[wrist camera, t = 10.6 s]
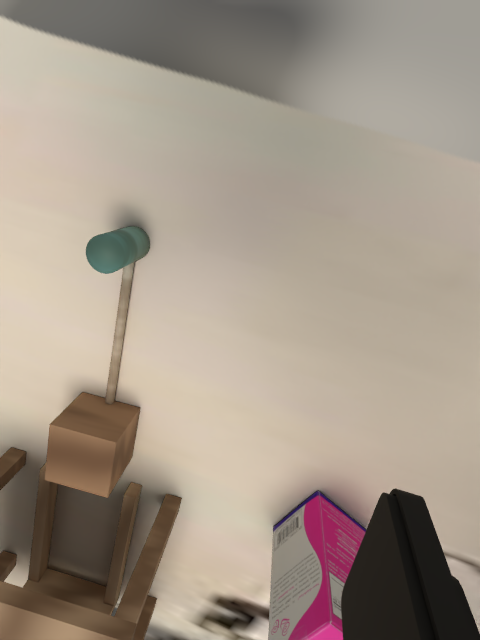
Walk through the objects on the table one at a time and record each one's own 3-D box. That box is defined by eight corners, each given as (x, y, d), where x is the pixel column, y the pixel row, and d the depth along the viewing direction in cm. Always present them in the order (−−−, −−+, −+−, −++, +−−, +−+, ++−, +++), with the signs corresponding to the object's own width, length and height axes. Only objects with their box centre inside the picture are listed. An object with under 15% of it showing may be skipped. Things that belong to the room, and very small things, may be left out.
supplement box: (321, 566, 38) (330, 719, 27) (271, 526, 38) (260, 665, 27) (370, 530, 36) (400, 678, 26) (318, 487, 36) (326, 620, 25)
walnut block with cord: (132, 457, 37) (107, 497, 33) (76, 442, 38) (44, 479, 33) (169, 235, 31) (146, 245, 26) (102, 218, 31) (67, 225, 27)
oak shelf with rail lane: (183, 497, 38) (129, 643, 26) (155, 609, 43) (98, 776, 31) (10, 446, 39) (-119, 564, 27) (1, 561, 43) (-112, 706, 31)
